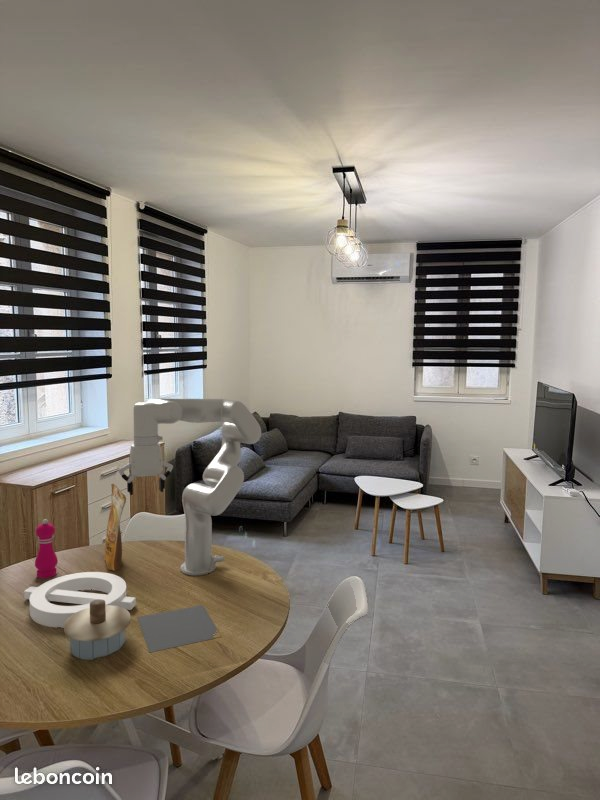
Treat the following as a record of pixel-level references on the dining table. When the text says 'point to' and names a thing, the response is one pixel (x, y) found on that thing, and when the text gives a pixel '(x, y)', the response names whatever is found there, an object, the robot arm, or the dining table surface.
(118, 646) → the bowl
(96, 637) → the lid
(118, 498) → the pancake mix bag
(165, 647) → the mat
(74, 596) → the ring with crossbar
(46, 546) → the pepper mill
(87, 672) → the dining table surface
